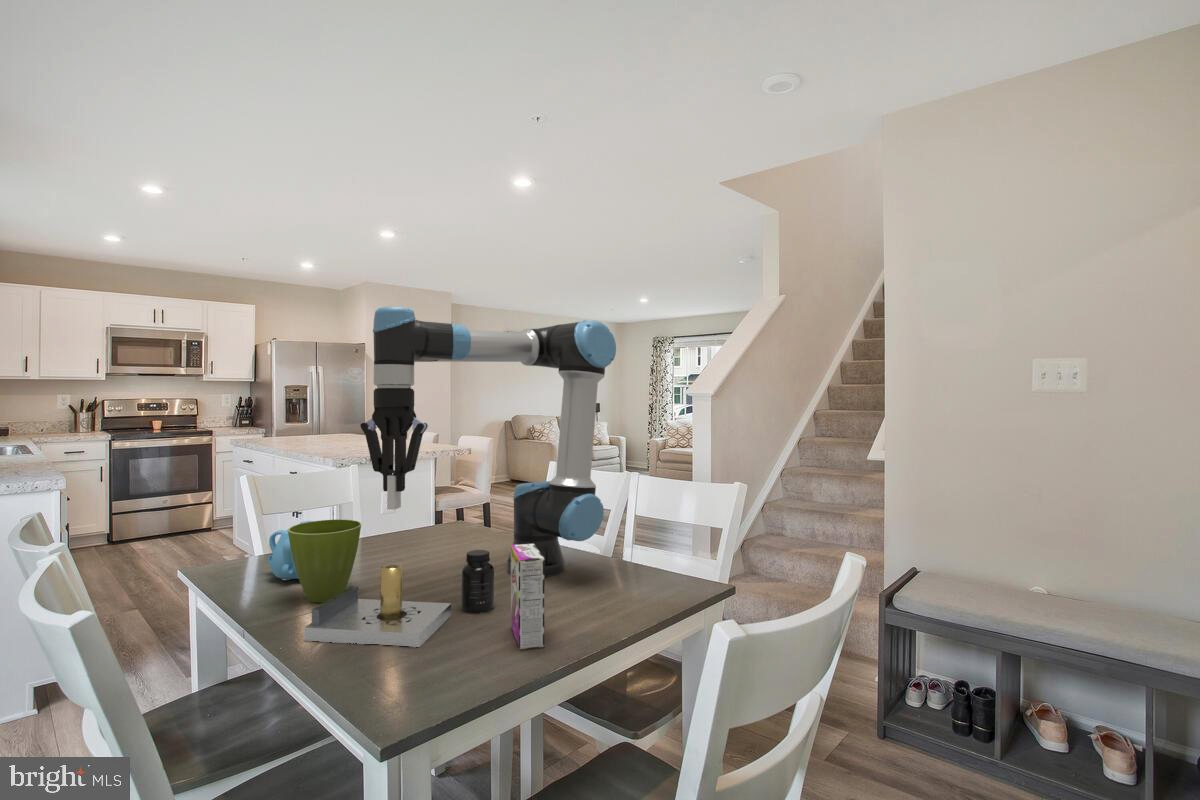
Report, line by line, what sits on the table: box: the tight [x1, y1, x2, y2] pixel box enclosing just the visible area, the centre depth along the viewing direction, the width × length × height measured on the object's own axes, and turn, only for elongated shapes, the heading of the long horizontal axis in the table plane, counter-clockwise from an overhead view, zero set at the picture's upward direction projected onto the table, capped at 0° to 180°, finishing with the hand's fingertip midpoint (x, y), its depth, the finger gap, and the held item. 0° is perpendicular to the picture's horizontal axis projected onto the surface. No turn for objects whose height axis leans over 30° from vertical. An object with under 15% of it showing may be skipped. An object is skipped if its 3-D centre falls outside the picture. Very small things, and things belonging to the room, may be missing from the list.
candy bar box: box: [510, 544, 545, 651], centre depth 111 cm, size 11×5×16 cm, turn 17°
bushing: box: [380, 563, 404, 621], centre depth 115 cm, size 4×4×12 cm
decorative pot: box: [267, 520, 313, 580], centre depth 149 cm, size 16×16×14 cm
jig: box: [303, 585, 452, 648], centre depth 115 cm, size 22×16×6 cm
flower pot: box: [287, 519, 362, 603], centre depth 132 cm, size 15×15×16 cm
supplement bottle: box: [461, 549, 495, 614], centre depth 126 cm, size 7×7×12 cm
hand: (394, 508), depth 115 cm, fingers closed
